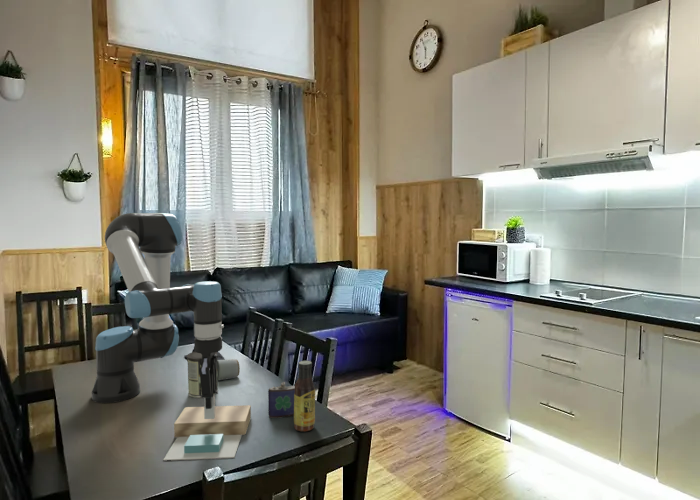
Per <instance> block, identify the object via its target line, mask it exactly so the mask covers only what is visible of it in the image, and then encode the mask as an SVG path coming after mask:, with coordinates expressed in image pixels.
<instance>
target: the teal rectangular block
mask: <svg viewBox="0 0 700 500" xmlns="http://www.w3.org/2000/svg"><path fill="white" fill-rule="evenodd" d="M222 443H223V434H205V435H190V437H189V438H188V440H187V442H186V444H185V445H184V453H205V452H219V451H220V448H221V446H222Z"/></svg>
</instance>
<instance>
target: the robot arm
mask: <svg viewBox="0 0 700 500" xmlns="http://www.w3.org/2000/svg"><path fill="white" fill-rule="evenodd" d="M182 234H183V233H182V227H181V225H180V222H179V220H178V218H177V216H176V215H174V214H172V213H167V212H166V213H164V212H138V213H137V212H128V213H124V214H121V215H118V216H117V217H115V218H114V219H113V220H112V221H110V223H109V224H108V226H107V228H106V230H105V232H104V242H105V245H106V248H107V250H108V251H109V252H110V253H111V254H113V256H114V258H115V261H116V263H117V265H118V268H119V271H120V274H121V275H122V277H123V281H124V284H125V286H126V288H127V291H128V292H127V293H126V294H125V297H124V307H125V313H126V315H127V316H128V317H129V318H131V319H138V318H139V319H140V318H142V319H141V320H140V321H139V323H138V328H137V329H134V328H133V327H132V326H130V325H124V326H115V327H112V328H108V329H106V330H103V331H101V332H99V334H98V335H97V336H96V337H95V347H94V350H95V361H96V362H95V363H96V377H95V378H96V379H95V381H94V384H93V386H92V390H91V400H92V401H93V402H94V403H99V404H100V403H101V404H112V403H118V402H123V401H126V400H129V399H131V398H135V397H136V396H137V395H139V393H141V385H140V382H139V380H138V377H137V374H136V372H135V363H138V362H144V361H148V360H154V359H155V360H157V359H163V358H165V357H168V356H172V355H173V354H174V353H175V352H176V351H177V349H178V346H179V340H180V336H179V328H178V326H177V325H176V324H175V323H174V321H173V320H172V319H171V318H170V315H172V314H173V315H174V314H178V313H180V314H181V313H187V312H192V313H193V337H195V338H194V346H193V349H195V352H197V353H201V354H202V358H201V359H200V365H201V367H199V373H200V381H201V392H202V395H201V398H200V399H203V407H204V419H214V418H215V406H216V394H218V393H219V390H218V391H215V389H216V388H217V386H216V383H217V382H218V380H217V359H218V354H215V352H220V351H221V350H222V349H223V337H222V336H221V335H222V334H223V329H224V327H225V326H224V324H222V322H223V320H222V315H223V314H222V311H223V310H222V297H223V294H222V286H221V284H220V283H219V282H218V281H211V280H209V281H207V280H206V281H198V282H195V283H194V284H193V283H190V284H189V283H187V284H184V285H183V284H182V286H175V287H171V256H172V255H173V254H175V252H176V247H178V246H180V245H181V244H182V242H183V241H182V240H183V235H182ZM213 394H214V395H213Z"/></svg>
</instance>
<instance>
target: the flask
mask: <svg viewBox="0 0 700 500" xmlns="http://www.w3.org/2000/svg"><path fill="white" fill-rule="evenodd" d="M267 390H268V391H267V392H268V393H267V394H268V397H267V398H268V401H267V402H268V405H267V406H268V407H267V408H268V412H267V413H268V417H269V418H272V419H278V418H279V419H280V418H288V417H294V393H295V385H289V386H286V382H285V381H282V382H281V384H280V385H279V386H276V387H275V386H274V385H273V387H269V388H268V389H267Z"/></svg>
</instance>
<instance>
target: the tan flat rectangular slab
mask: <svg viewBox="0 0 700 500" xmlns="http://www.w3.org/2000/svg"><path fill="white" fill-rule="evenodd" d="M251 411H252V406H251V404H250V405H249V404H248V405H215V418H214V419H204V406H187V407H186V406H185V407H184V408H183V410H182V411H181V412H180V414H179V416H178V417H177V419H176V420H175V421H174V423H173V429H174V431H173V432H174V434H173V435H174V438H177V437H188V436H190V435H205V434H223V435H242V436H243V435H246V434H247V431H248V428H249V425H250V421H251V418H252V412H251Z"/></svg>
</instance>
